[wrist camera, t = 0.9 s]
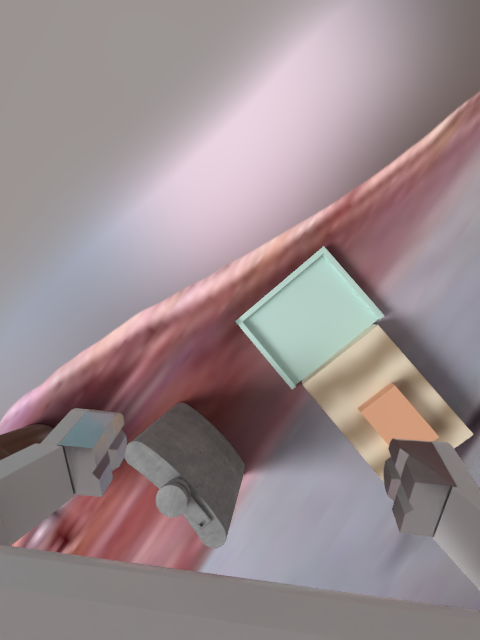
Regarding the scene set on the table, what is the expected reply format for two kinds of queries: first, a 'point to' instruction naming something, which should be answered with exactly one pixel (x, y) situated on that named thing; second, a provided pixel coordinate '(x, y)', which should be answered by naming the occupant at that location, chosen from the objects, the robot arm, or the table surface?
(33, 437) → the plant pot
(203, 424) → the hip flask
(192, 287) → the table surface
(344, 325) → the tray
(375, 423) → the salmon pink block
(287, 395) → the table surface
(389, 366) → the beige flat block
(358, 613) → the robot arm
